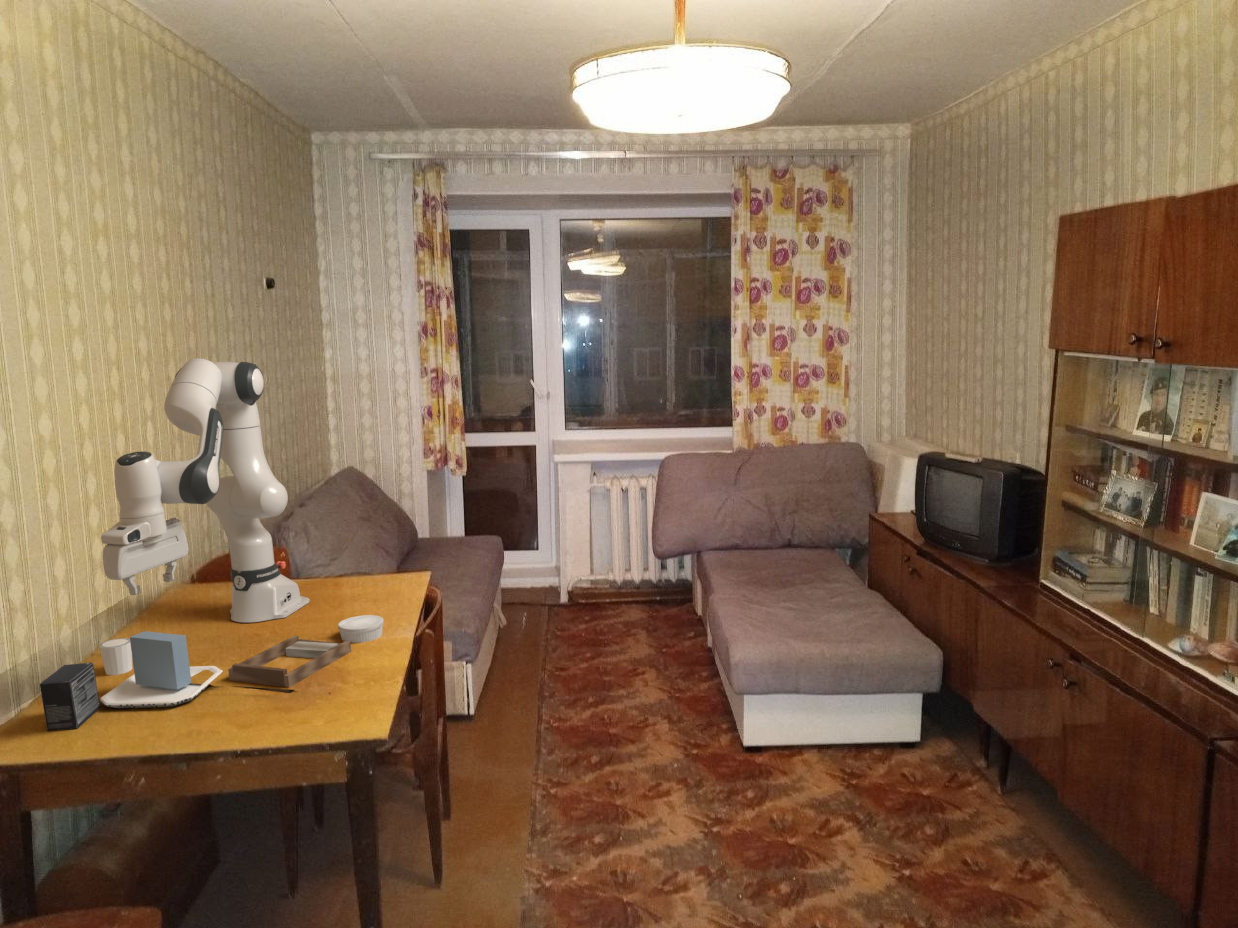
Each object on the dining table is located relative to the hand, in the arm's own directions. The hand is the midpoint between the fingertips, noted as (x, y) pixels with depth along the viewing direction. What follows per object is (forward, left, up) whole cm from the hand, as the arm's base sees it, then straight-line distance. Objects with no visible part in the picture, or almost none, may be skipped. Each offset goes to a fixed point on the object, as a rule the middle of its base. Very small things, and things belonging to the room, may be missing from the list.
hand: (152, 587), depth 208 cm
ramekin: (-37, +26, -24) cm, 51 cm away
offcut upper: (-23, +22, -22) cm, 39 cm away
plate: (+2, +1, -24) cm, 24 cm away
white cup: (-5, -20, -24) cm, 31 cm away
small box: (+19, -6, -24) cm, 31 cm away
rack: (-16, +22, -23) cm, 36 cm away
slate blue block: (+2, +2, -22) cm, 22 cm away
